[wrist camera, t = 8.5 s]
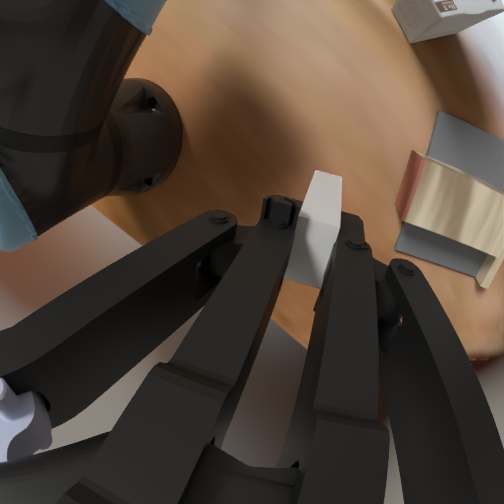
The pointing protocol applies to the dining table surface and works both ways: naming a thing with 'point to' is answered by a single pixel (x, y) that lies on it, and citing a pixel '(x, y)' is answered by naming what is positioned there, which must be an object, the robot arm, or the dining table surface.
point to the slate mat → (476, 164)
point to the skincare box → (441, 16)
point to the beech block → (452, 204)
